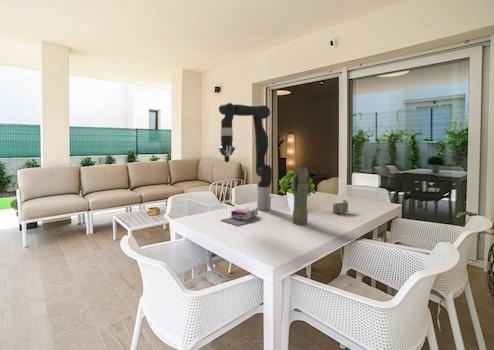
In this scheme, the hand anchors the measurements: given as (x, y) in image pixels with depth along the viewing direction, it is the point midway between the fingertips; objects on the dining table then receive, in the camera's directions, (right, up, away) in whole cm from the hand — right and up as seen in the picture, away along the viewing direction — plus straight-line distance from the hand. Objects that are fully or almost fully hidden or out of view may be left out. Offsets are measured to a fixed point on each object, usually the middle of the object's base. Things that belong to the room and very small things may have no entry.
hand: (226, 161), depth 189 cm
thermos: (+46, -39, -9) cm, 61 cm away
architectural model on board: (+79, -36, +17) cm, 89 cm away
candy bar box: (+8, -35, -5) cm, 36 cm away
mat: (+9, -38, -4) cm, 39 cm away
